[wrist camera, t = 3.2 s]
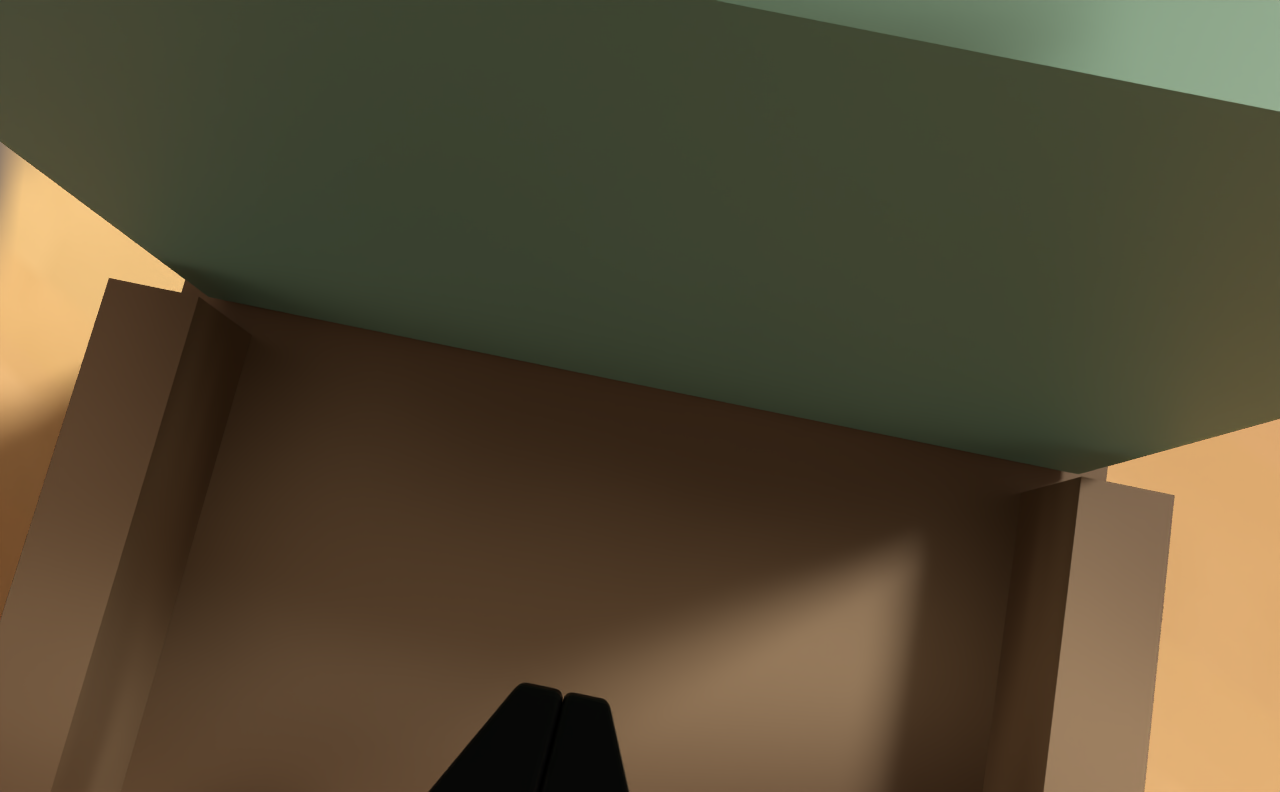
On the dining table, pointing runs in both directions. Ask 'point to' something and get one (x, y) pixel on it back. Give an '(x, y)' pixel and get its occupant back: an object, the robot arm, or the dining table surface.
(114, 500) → the cart
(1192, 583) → the dining table surface
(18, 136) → the panel
